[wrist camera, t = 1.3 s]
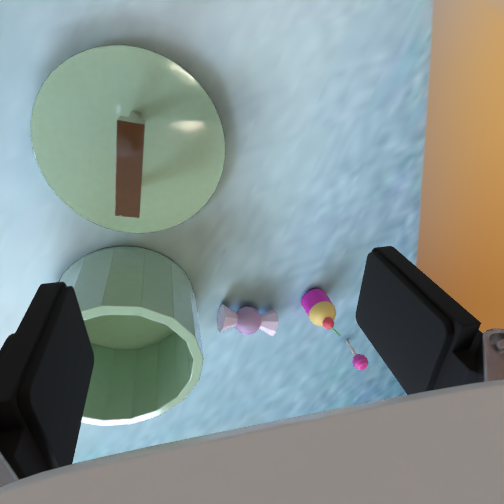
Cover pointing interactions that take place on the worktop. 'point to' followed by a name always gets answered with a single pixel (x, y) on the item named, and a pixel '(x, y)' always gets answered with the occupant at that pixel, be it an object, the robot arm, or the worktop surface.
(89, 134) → the lid
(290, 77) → the worktop surface
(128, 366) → the canister
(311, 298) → the candies
